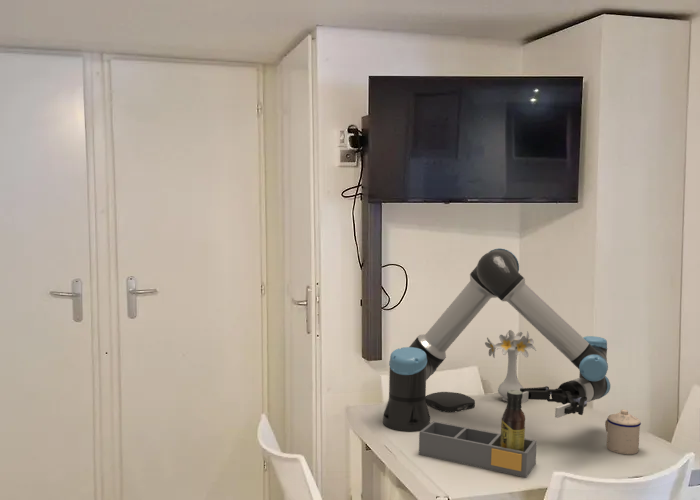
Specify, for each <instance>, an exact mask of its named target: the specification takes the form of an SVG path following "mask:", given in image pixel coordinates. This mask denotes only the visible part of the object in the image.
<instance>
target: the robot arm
mask: <svg viewBox="0 0 700 500" xmlns="http://www.w3.org/2000/svg"><path fill="white" fill-rule="evenodd" d="M519 264H520V263H519V260H518V258H517V257H516V255H515V254H514V253H513V252H512V251H510V250H507V249H505V248H493V249H492V250H491V249H490V251H488V252H486V253H485V254H484V255H482V256H481V257H480V258H479V260H478V262H477V265H476V266H475V267H474V269H473V270H472V271H471V272H470V274H469V282H468V283H467V284H466V285H465V287H464V288H462V290H461V291H460V293H459V294H458V295H457V296H456V297H455V299H454V300H453V301H452V302H451V303H450V304H449V306H448V307H447V308H446V310H445V311H444V312H442V314H441V316H439V318H438V319H437V320H436V321H435V322H434V323H433V325H432V326H431V327H430V328H429V330H428V331H427V332H426V333H425V334H418V336H417V337H416V338H415V339H414V340H413V341H412V343H411V344H410V345H409V346H405V347H401V348H397V349H394V350H393V351H392V352H391V353H390V357H389V363H388V364H389V365H388V366H389V375H388V376H389V379H388V380H389V382H388V383H389V384H388V387H389V388H388V401H387V403H386V406H385V409H384V412H383V414H382V424H383V425H384V426H385V427H387V428H389V429H392V430H395V431H400V432H401V431H403V432H418V431H421V430H422V429H424V428H425V427H426V426H428V425H429V424H430V423H431V416H430V412H429V408H428V405H427V404H426V400H425V396H427V395H426V391H427V386H426V385H427V380H428V379H429V378H430V377H431V376H433V374H434V373H435V372H436V371H437V369H438V368H439V366H441V364H442V363H443V362H444V360H446V358H447V355H446V351H447V350H448V349H449V348H450V347H451V345H453V343H454V342H455V341H456V340H457V338H458V337H459V336H460V335H461V334H462V332H463V331H465V329H466V328H467V327H468V326H469V324H470V323H471V322H472V321H473V320H474V319H475V318H476V316H477V315H478V314H479V313H480V311H481V310H482V309H483V308H484V307H485V306H486V304H488V302H489V301H490V300H491V299H496V298H497V299H499V300H500V301H501V302H507V303H508V304H509V305H511V307H512V308H513V309H515V310H516V312H518V313H519V314H520V315H521V316H522V317H523V318H524V319H525V320H526V321H528V323H529V324H530V325H532V327H534V328H535V329H536V330H537V332H539V333H540V334H541V335H542V336H543V337H544V338H545V339H546V340H548V341H549V342H550V343H551V344H552V345H553V346H554V347H555V348H556V349H557V350H559V352H560V353H561V354H563V355H564V357H566V358H567V359H568V360H569V361H570V362H571V363H572V364H573V366H575V367H576V368H577V369H578V370H579V377H578V378H574V379H572V380H568V381H564V382H562V383H561V384H560V385H559V386H558V387H557V388H554V389H553V388H550V386H542V387H541V386H540V387H523V388H520V391H521V392H522V393H523V396H522V400H521V404H522V403H526V402H529V400H533V401H534V400H536V401H537V400H538V401H540V400H541V401H547V402H549V403H553V402H554V403H557V404H559V403H560V404H562V405H559V406H556V407H555V408H554V409H555V410H554V412H555V413H554V418H557V419H558V418H562V417H564V416H567V415H571V414H573V415H575V414H576V413H577V414H578V415H580V416H583V414H584V409H585V407H587V405H588V403H589V402H593V401H595V400H599V399H601V398H604V397H605V396H606V395H608V394H609V393H610V390H611V382H610V380H609V377H607V373H608V370H609V364H608V360H607V359H608V358H607V357H608V341H607V339H605V338H604V337H601V336H594V335H592V336H591V335H590V336H589V335H587V336H584V337H583V336H582V335H581V334H579V332H578V331H576V330H575V329H574V328H573V327H572V326H571V325H570V324H569V323H568V322H567V321H566V320H565V319H564V318H562V316H561V315H559V314H558V313H557V311H555V310H554V309H553V308H552V307H551V306H550V305H549V304H547V302H546V301H544V300H543V299H542V298H541V296H539V295H538V294H537V293H536V292H535V291H534V290H533V289H531V287H530V286H528V285H527V284H526V281H525V280H526V279H525V277H524V276H522V274H521V273H519V271H520V265H519Z"/></svg>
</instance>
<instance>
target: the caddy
mask: <svg viewBox="0 0 700 500" xmlns="http://www.w3.org/2000/svg"><path fill="white" fill-rule="evenodd" d="M418 434H419V435H418V438H419V441H418V455H420V456H425V457H429V458H433V459H440V460H442V461H443V460H444V461H448V462H452V463H457V464H462V465H468V466H471V467H476V468H479V469H485V470H490V471H494V472H499V473H503V474H508V475H512V476H517V477H522V478H528V476H529V474H530V472H531V471H532V470H533V469H534V467H535V465H536V463H537V446H538V445H537V443H538V442H537V440H536V439H535V440H534V439H530V438H525V437H524V452H523V451H518V450H513V449H508V448H503V447H500V443H501V433H497V432H493V431H488V430H487V431H486V430H482V429H477V428H473V427H467V426H463V425H462V426H461V425H457V424H456V425H455V424H449V423H445V422H440V421H435V420H433V421H430V424H429V425H428V426H426V427H425V428H424V429H422V430H419V433H418Z"/></svg>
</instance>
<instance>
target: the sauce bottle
mask: <svg viewBox="0 0 700 500" xmlns="http://www.w3.org/2000/svg"><path fill="white" fill-rule="evenodd" d="M522 396H523V393H522V392H521V391H519V390H509V391H507V397H508V399H507V402H506V407H505V410H504V412H503V414H502V417H501V421H500V423H501V424H500V425H501V426H500V434H501V443H500V447H503V448H508V449H513V450H518V451H523V452H524V438H525V433H526V416H525V413H524V412H523V410H522V403H521V400H522Z"/></svg>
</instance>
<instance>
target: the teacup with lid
mask: <svg viewBox="0 0 700 500" xmlns="http://www.w3.org/2000/svg"><path fill="white" fill-rule="evenodd" d="M604 423H605V424H604V425H605V431H606V433H607V434H606V436H607V437H606V448H607V449H608V450H609V451H611V452H613V453H616V454H621V455H634V454H637V453H638V452H639V444H640V428H641V424H642V423H641V420H640V419H639V418H637V416H633V414H630V413H629V411H628V410H627V409H620V412H617V413H612V414H609V415H608V416H607V418H606V420H605V422H604Z"/></svg>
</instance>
